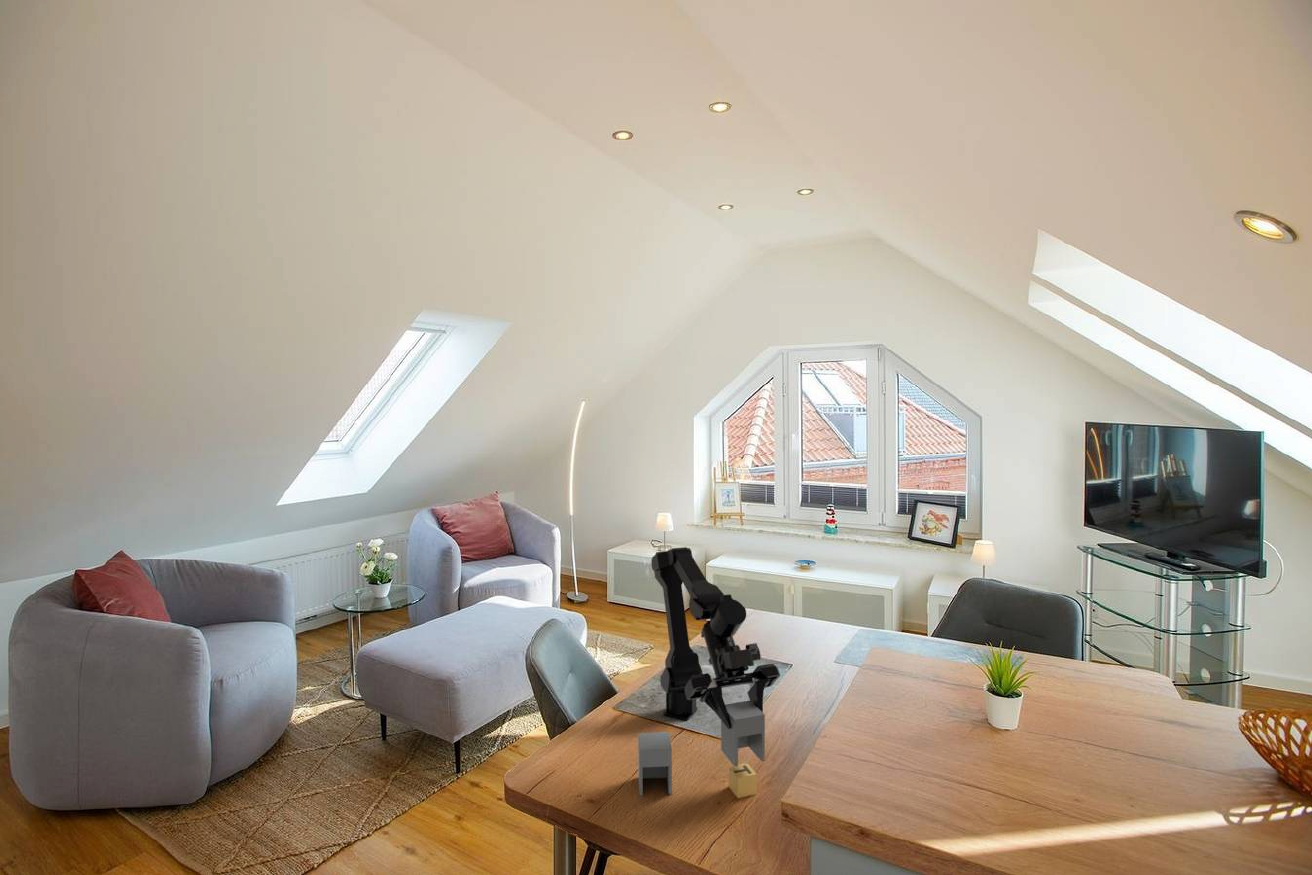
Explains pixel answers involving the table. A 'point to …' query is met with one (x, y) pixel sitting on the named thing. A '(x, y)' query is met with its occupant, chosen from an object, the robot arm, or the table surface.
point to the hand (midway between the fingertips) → (745, 725)
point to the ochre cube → (742, 780)
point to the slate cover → (654, 758)
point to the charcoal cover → (743, 731)
